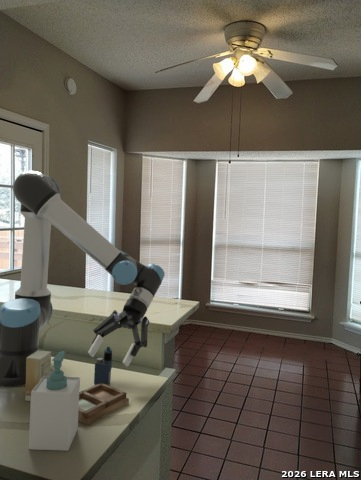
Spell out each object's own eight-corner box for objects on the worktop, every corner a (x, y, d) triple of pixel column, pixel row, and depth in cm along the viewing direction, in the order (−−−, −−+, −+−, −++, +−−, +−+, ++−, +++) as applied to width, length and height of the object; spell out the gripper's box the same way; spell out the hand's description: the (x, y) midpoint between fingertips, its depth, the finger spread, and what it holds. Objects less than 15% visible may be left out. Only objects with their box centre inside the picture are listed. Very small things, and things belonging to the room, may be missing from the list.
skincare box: (36, 391, 109) (38, 349, 108) (50, 392, 108) (52, 351, 107) (23, 401, 102) (25, 357, 102) (38, 403, 102) (40, 358, 101)
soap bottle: (78, 429, 90) (81, 351, 89) (68, 451, 82) (72, 364, 81) (41, 427, 90) (45, 349, 89) (28, 449, 81) (31, 363, 80)
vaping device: (108, 388, 113) (110, 349, 112) (92, 386, 114) (94, 347, 113) (112, 384, 115) (114, 346, 115) (96, 382, 116) (97, 344, 116)
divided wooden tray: (56, 409, 99) (56, 399, 99) (98, 390, 111) (98, 381, 111) (87, 425, 92) (87, 414, 92) (128, 402, 105) (129, 393, 105)
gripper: (104, 291, 132) (71, 345, 119) (165, 302, 120) (135, 362, 107) (113, 304, 137) (82, 356, 124) (173, 315, 125) (145, 375, 112)
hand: (107, 359), depth 116 cm, fingers open, 13 cm apart
